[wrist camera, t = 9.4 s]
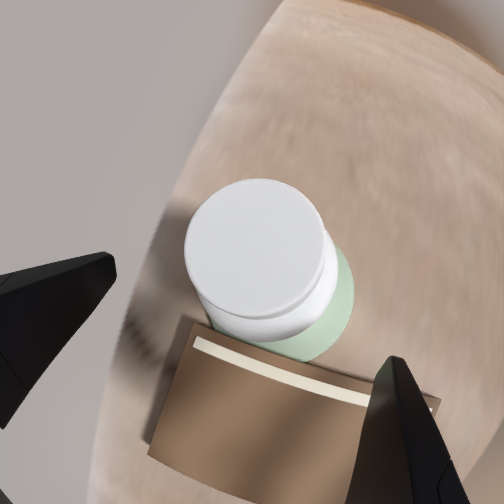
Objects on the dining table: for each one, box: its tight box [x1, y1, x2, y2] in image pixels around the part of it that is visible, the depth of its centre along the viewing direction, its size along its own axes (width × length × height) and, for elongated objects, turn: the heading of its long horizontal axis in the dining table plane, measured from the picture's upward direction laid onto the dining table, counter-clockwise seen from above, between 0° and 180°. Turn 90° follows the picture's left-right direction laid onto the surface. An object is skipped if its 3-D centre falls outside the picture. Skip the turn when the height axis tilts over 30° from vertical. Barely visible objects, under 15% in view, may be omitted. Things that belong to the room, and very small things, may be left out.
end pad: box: [210, 242, 354, 363], centre depth 17 cm, size 9×9×1 cm
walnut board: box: [147, 323, 442, 504], centre depth 14 cm, size 16×10×1 cm, turn 69°
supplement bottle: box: [184, 178, 338, 342], centre depth 12 cm, size 5×5×10 cm
